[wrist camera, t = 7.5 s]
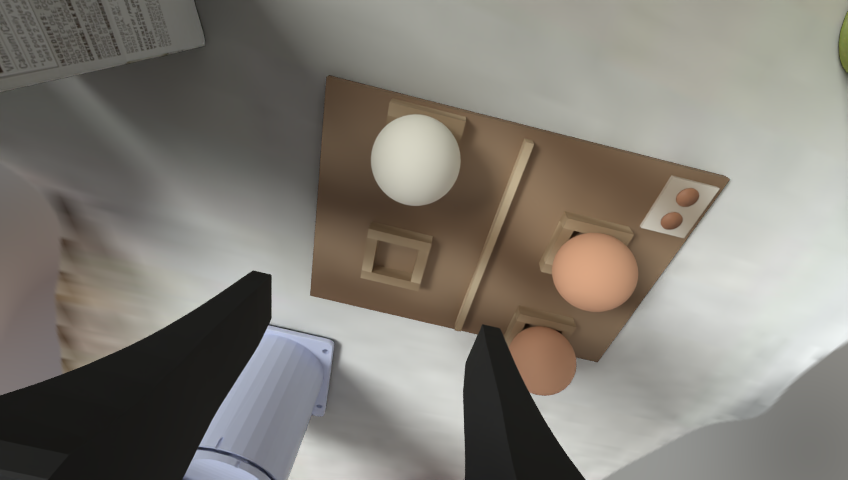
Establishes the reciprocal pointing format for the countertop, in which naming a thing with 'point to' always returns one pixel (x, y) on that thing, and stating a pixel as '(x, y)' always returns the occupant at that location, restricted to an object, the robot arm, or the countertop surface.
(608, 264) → the terracotta ball
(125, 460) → the robot arm
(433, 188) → the cream ball
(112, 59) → the coffee box
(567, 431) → the countertop surface
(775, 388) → the countertop surface
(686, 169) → the board
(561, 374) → the terracotta ball
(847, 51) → the plant pot
